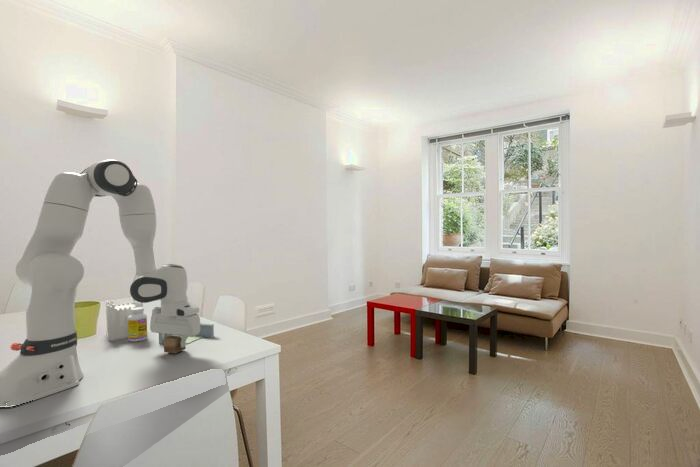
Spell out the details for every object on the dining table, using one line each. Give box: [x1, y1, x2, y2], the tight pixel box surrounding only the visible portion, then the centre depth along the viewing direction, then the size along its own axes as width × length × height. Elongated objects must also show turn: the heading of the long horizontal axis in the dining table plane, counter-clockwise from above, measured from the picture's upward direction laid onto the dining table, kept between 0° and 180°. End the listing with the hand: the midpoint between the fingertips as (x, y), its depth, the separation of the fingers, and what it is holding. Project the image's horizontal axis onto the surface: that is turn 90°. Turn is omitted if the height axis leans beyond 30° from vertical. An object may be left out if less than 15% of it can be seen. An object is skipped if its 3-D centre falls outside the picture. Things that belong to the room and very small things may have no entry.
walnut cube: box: [163, 335, 187, 354], centre depth 131 cm, size 5×5×5 cm
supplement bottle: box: [128, 306, 148, 343], centre depth 146 cm, size 7×7×13 cm
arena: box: [158, 322, 215, 345], centre depth 145 cm, size 14×15×5 cm
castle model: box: [105, 298, 144, 342], centre depth 155 cm, size 13×15×14 cm
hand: (174, 346), depth 131 cm, fingers closed on walnut cube, 5 cm apart
